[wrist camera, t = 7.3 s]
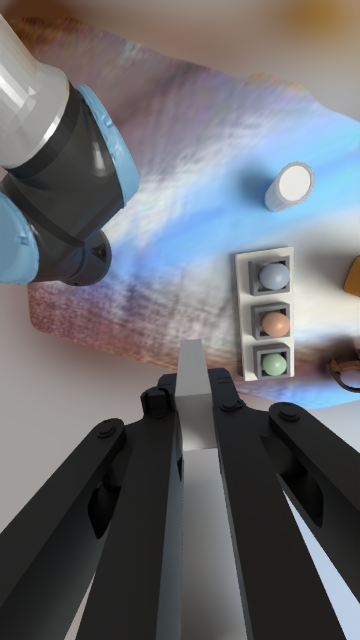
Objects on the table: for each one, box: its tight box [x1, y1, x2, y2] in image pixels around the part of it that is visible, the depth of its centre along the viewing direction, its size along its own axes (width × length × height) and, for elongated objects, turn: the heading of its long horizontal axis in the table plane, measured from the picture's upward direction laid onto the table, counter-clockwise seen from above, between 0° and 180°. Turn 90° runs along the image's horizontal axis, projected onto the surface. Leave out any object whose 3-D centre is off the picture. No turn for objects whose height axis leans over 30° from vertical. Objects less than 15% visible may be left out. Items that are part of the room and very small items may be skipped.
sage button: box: [261, 352, 287, 376], centre depth 47 cm, size 5×5×3 cm
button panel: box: [235, 246, 294, 381], centre depth 46 cm, size 31×12×5 cm, turn 8°
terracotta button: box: [260, 311, 290, 337], centre depth 43 cm, size 5×5×3 cm
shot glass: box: [265, 161, 315, 212], centre depth 39 cm, size 7×7×7 cm
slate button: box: [258, 264, 290, 290], centre depth 40 cm, size 5×5×3 cm
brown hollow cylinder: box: [330, 349, 360, 393], centre depth 48 cm, size 12×10×8 cm
